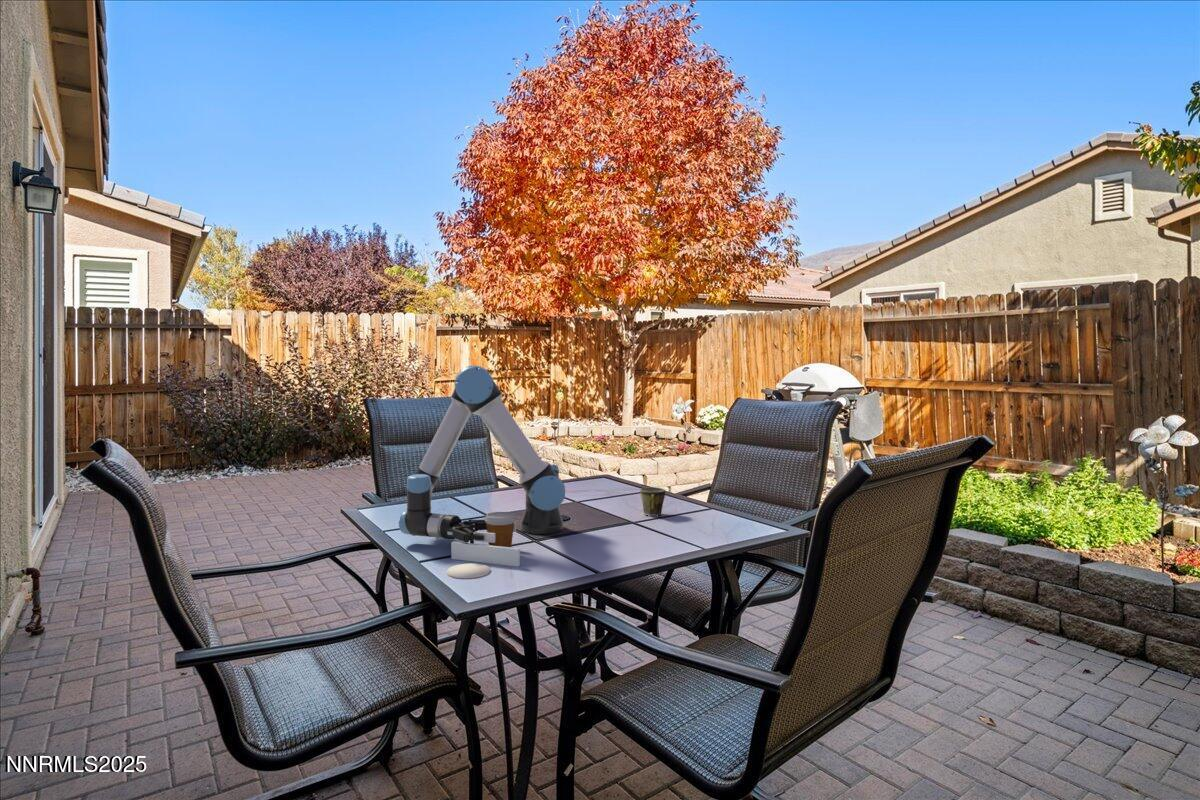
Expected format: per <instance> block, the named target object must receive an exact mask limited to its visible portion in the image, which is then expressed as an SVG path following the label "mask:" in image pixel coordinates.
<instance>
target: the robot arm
mask: <svg viewBox="0 0 1200 800" xmlns="http://www.w3.org/2000/svg"><path fill="white" fill-rule="evenodd" d="M502 396H503V393H502V391H501V390H500V388H499V387H498V386H497V384H496V382H495V381H494V379H493V377H492V375H491V374H490V372H489V371H488V370H487V369H486V368H484V367H483V366H479V365H469V366H466V367H464V368H462V369H461V370H460V371H458V373H457V375H456V376H455V379H454V389H453V392H452V394H451V395H450V400H451V403H450V404H449V407H448V409H447V410H446V413H445V415H444V416H443V419H442V421H441V423H440V424H439V426H438V429H437V430H436V433H435V434H434V437H433V438H432V440H431V442H430V444H429V446H428V448H427V450H426V452H425V453H424V454H425V455H423V458H422V460H421V463H420V464H419V467H418V469H417V470H416V472H415V473H414V474H411V475H409V476H407V478H406V486H405V488H406V510H405V511H403V512H402V513H401V515H400V516H399V521H398V528H399V531H400V532H401V533H402V534H405V535H411V536H414V537H415V536H417V537H418V536H419V537H429V538H435V540H439V539H446V540H458V541H459V542H464V543H474V544H475V542H480V543H481V542H483V543H489V542H490V543H495V533H488V532H487V526H486V522H485V520H484V519H468V520H463V521H462V520H461V517H460V516H458V515H457V514H456V515H455V514H447V513H445V514H444V513H435V512H434V513H433V512H432V493H433V490H434V488H435V486H436V484H437V482H438V480H439V477H440V476H441V474H442V472H443V470H444V468H445V465H446V464H447V462H448V460H449V458H450V456H451V454H452V452H453V450H454V448H455V446H456V444H457V442H458V440H459V437H460V436H461V434H462V433H463V430H464V428H465V427H466V424H467V423H468V420H469V419H470V416H471V415H476V416H479V418H480V419H481V420H482V422H483V423H484V425H485V426H486V428H487V430H489V432H490V433H491V435H492V437H493V438H494V439H495V441H496V442H497V443H498V445H499V446H500V448H501V450H502V451H503V452H504V454H505V455H506V457H507V458H508V460H509V462H511V464H512V466H513V468H514V469H515V470H516V471H517V473H518V474H519V478H518V479H519V480H518V483H519V484H520V486H521V487H522V488H523V490H524V491H525V507H524V508H525V509H524V512H523V515H522V518H521V521H520V530H521V531H522V532H524V533H525V534H526V533H527V534H535V535H550V534H555V533H559V532H562V531H563V530H564V519H563V517H562V513H561V510H560V505H561V504H562V503H563V502H564V500H565V497H566V486H565V484H564V482H563V480H562V479H561V478H560V476H559V475H560V470H559V465H557V464H550V462H549V461H545V460H542V458H541V457H540V455H538V453H537V452H536V449H534V447H533V445H532V444H531V442H530V441H529V440H528V438H527V436H526V435H525V434H524V431H522V429H521V428H520V426H519V425H518V423H517V422H516V420H515V419H514V417H513V415H512V414H511V413H510V411H509V410H508V408H507V406H505V403H504V402H503V401H502ZM485 531H486V532H485ZM515 532H517V523H516V522H514V529H513V533H515Z"/></svg>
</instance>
